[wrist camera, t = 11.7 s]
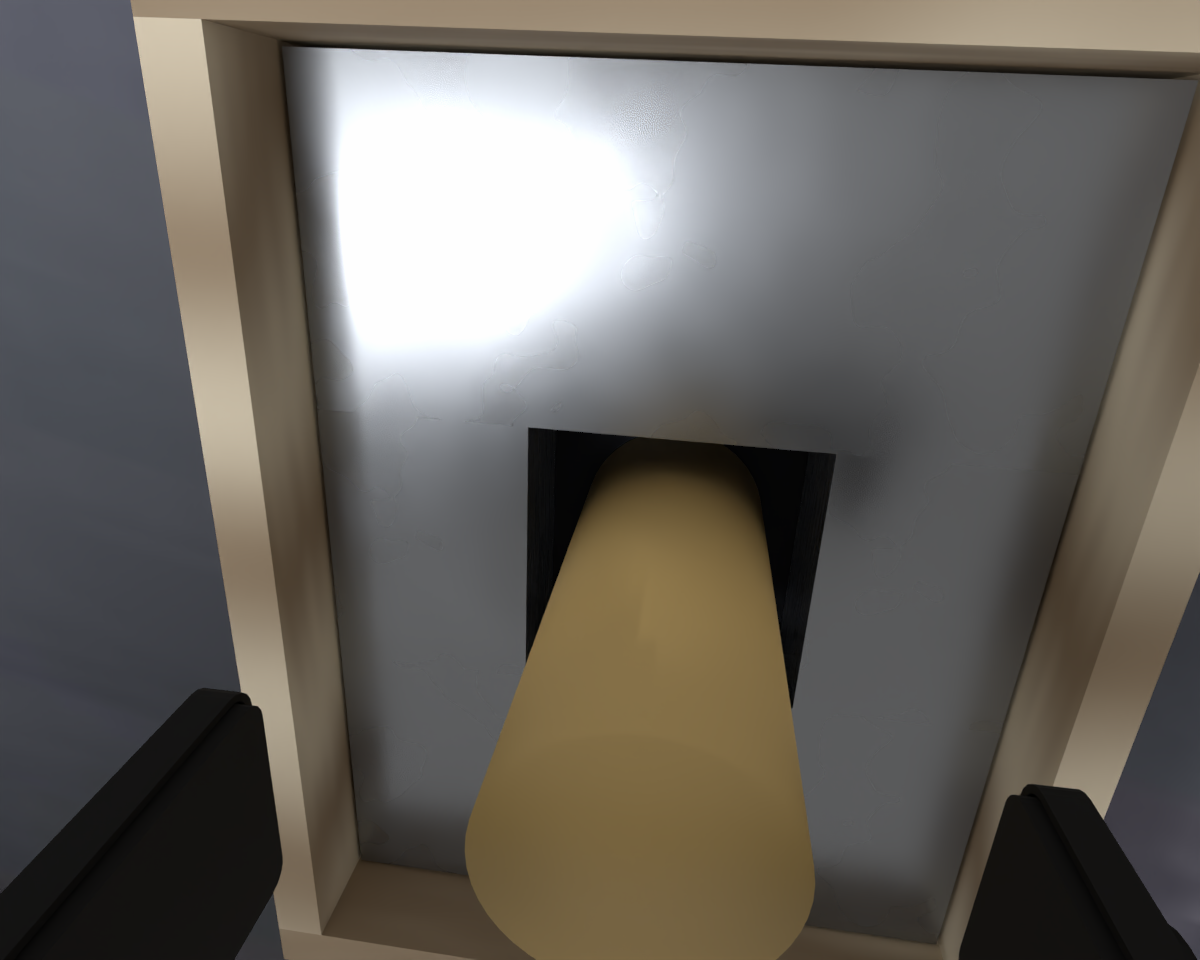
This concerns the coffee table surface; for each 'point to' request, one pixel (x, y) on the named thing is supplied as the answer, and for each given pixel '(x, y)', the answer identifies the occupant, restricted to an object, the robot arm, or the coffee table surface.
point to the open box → (292, 438)
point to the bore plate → (715, 391)
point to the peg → (651, 733)
